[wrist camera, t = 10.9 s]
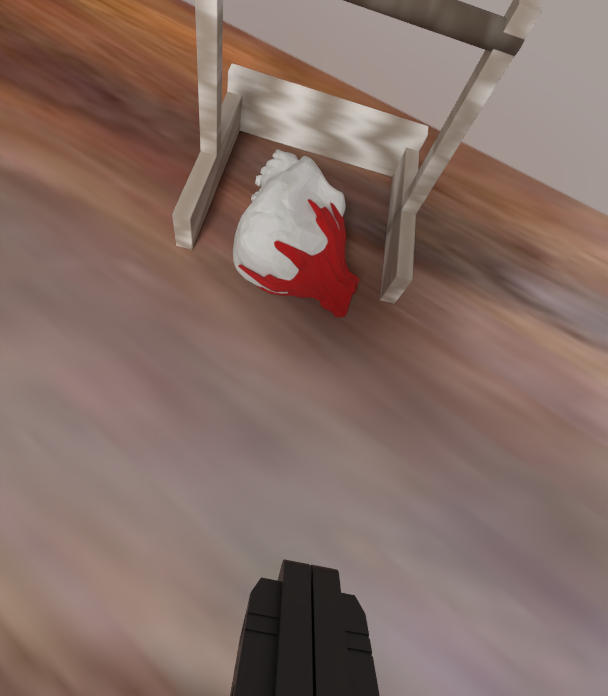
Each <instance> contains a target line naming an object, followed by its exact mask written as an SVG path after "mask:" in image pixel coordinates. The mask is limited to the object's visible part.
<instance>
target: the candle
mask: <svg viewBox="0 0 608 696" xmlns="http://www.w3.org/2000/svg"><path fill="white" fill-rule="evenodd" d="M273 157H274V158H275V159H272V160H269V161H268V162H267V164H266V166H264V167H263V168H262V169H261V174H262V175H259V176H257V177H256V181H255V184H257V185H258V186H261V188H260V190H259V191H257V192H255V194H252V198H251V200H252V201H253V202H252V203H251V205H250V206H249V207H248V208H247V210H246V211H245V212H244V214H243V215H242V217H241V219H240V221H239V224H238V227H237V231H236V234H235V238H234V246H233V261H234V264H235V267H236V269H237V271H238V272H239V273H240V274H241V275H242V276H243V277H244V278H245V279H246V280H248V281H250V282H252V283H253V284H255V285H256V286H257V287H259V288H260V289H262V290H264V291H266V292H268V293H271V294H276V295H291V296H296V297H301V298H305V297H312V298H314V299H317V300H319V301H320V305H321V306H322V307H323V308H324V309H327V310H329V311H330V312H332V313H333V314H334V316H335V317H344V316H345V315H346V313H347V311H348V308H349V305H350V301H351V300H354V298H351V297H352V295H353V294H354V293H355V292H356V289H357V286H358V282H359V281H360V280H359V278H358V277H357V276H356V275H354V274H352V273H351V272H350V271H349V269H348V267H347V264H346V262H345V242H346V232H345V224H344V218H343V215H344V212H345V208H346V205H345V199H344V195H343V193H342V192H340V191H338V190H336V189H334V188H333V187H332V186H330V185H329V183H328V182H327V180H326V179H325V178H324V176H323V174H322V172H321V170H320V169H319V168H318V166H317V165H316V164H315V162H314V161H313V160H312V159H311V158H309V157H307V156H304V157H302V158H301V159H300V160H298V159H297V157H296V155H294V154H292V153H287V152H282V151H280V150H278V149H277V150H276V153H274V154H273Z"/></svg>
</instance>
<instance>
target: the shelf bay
mask: <svg viewBox="0 0 608 696" xmlns="http://www.w3.org/2000/svg"><path fill="white" fill-rule="evenodd" d="M344 1H347V2H350V3H353V4H355V5H358V6H361V7H364V8H367V9H370V10H373V11H376V12H378V13H381V14H384V15H387V16H390V17H393V18H396V19H399V20H401V21H404V22H407V23H410V24H413V25H416V26H419V27H421V28H424V29H427V30H430V31H433V32H436V33H439V34H442V35H445V36H447V37H450V38H453V39H456V40H459V41H462V42H465V43H468V44H470V45H473V46H476V47H479V48H482V49H485V52H484V54H483V56H482V57H481V59H480V61H479V63H478V64H477V66H476V68H475V70H474V72H473V74H472V76H471V77H470V79H469V81H468V83H467V84H466V86H465V88H464V90H463V92H462V93H461V95H460V97H459V99H458V101H457V102H456V104H455V106H454V108H453V110H452V111H451V113H450V115H449V117H448V119H447V121H446V122H445V124H444V126H443V128H442V129H441V131H440V133H439V135H438V137H437V138H436V140H435V142H434V144H433V146H432V147H431V149H430V151H429V153H428V155H427V156H426V158H425V160H424V162H423V164H422V165H421V167H420V169H419V171H418V164H419V151H420V149H421V147H422V145H423V143H424V141H425V139H426V138H427V136H428V126H425V125H422V124H419V123H416V122H413V121H410V120H407V119H404V118H401V117H397V116H394V115H391V114H388V113H385V112H382V111H379V110H376V109H372V108H369V107H366V106H363V105H360V104H357V103H354V102H351V101H347V100H344V99H341V98H338V97H335V96H332V95H329V94H326V93H323V92H319V91H316V90H313V89H310V88H307V87H304V86H301V85H298V84H294V83H291V82H288V81H285V80H282V79H279V78H276V77H273V76H270V75H266V74H263V73H260V72H257V71H254V70H251V69H248V68H245V67H241V66H238V65H235V64H232V65H231V67H230V69H229V71H228V92H227V94H226V96H225V99H224V101H223V103H222V105H221V101H222V32H223V0H195V11H196V37H197V64H198V91H199V117H200V144H201V152H200V154H199V156H198V158H197V161H196V163H195V165H194V167H193V169H192V172H191V174H190V176H189V178H188V180H187V183H186V185H185V187H184V189H183V192H182V194H181V196H180V198H179V200H178V203H177V205H176V207H175V209H174V211H173V214H172V216H173V224H174V231H175V239H176V246H180V247H184V248H188V249H191V250H193V247H194V245H195V242H196V240H197V237H198V235H199V232H200V230H201V227H202V224H203V222H204V219H205V217H206V214H207V212H208V209H209V207H210V204H211V202H212V199H213V197H214V194H215V192H216V189H217V187H218V184H219V182H220V179H221V176H222V174H223V171H224V169H225V166H226V164H227V161H228V159H229V156H230V154H231V151H232V149H233V146H234V144H235V141H236V139H237V136H238V134H239V131H243V132H246V133H249V134H252V135H256V136H259V137H262V138H266V139H269V140H272V141H276V142H279V143H282V144H285V145H289V146H292V147H295V148H299V149H302V150H305V151H308V152H312V153H315V154H318V155H322V156H325V157H328V158H332V159H335V160H338V161H341V162H345V163H348V164H351V165H355V166H358V167H361V168H365V169H368V170H371V171H374V172H378V173H381V174H384V175H388V176H391V177H392V182H391V192H390V202H389V213H388V223H387V233H386V243H385V253H384V263H383V273H382V284H381V294H380V300H381V301H385V302H389V303H393V304H395V302H396V301H397V300H398V298H399V297H400V296H401V295H402V293H403V292H404V291H405V289H406V288H407V287H408V285H409V284H410V283H411V282H412V276H413V257H414V239H415V220H416V213H417V212H418V210H419V209H420V207H421V205H422V204H423V202H424V201H425V199H426V197H427V196H428V194H429V193H430V191H431V189H432V188H433V186H434V184H435V183H436V181H437V180H438V178H439V176H440V175H441V173H442V172H443V170H444V168H445V167H446V165H447V164H448V162H449V160H450V159H451V157H452V156H453V154H454V152H455V151H456V149H457V148H458V146H459V144H460V143H461V141H462V139H463V138H464V136H465V135H466V133H467V131H468V130H469V128H470V127H471V125H472V123H473V122H474V120H475V119H476V117H477V115H478V113H479V112H480V111H481V109H482V107H483V106H484V104H485V102H486V101H487V99H488V98H489V96H490V94H491V93H492V91H493V90H494V88H495V86H496V85H497V83H498V82H499V80H500V78H501V77H502V75H503V74H504V72H505V70H506V69H507V67H508V66H509V64H510V62H511V61H512V59H513V57H514V56H515V55H516V54H517V52H518V51H519V49H520V48H521V46H522V44H523V42H524V40H525V38H526V37H527V35H528V33H529V32H530V30H531V29H532V27H533V25H534V24H535V22H536V21H537V19H538V17H539V16H540V14H541V13H542V10H541V6H540V2H539V0H513V1H512V3H511V5H510V7H509V9H508V10H507V13H506V14H505V16H504V17H503V16H500V15H497V14H494V13H492V12H489V11H486V10H483V9H480V8H478V7H475V6H472V5H469V4H466V3H463V2H461V1H458V0H344Z"/></svg>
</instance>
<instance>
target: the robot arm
mask: <svg viewBox="0 0 608 696" xmlns="http://www.w3.org/2000/svg"><path fill="white" fill-rule="evenodd" d="M230 696H379V690H378V684H377V678H376V673H375V667H374V661H373V657H372V649H371V644H370V639H369V632H368V626H367V620H366V615H365V613H364V611H363V609H362V607H361V605H360V604H359V602H358V600H357V598H356V597H355V595H350V594H345V593H341V588H340V579H339V572H338V570H336V569H331V568H326V567H321V566H316V565H311V566H310V565H309V564H305V563H300V562H295V561H289V560H283V562H282V565H281V569H280V573H279V577H278V581H276V580H271V579H266V578H261V579H260V580H259V581H258V583H257V584H256V586H255V587H254V589H253V590H252V591H251V593H250V598H249V602H248V606H247V610H246V615H245V619H244V623H243V627H242V632H241V636H240V641H239V647H238V652H237V658H236V664H235V670H234V676H233V682H232V687H231V693H230Z"/></svg>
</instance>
